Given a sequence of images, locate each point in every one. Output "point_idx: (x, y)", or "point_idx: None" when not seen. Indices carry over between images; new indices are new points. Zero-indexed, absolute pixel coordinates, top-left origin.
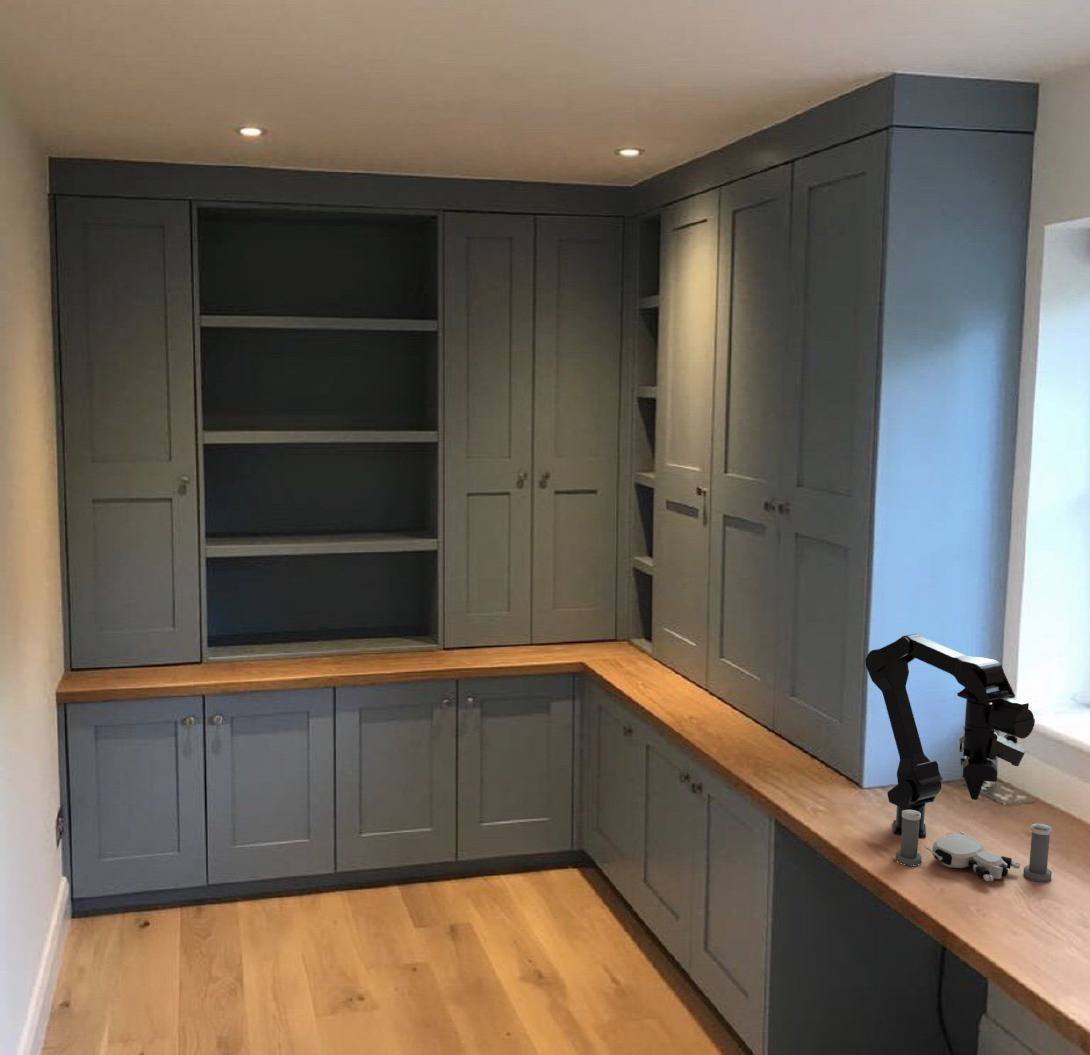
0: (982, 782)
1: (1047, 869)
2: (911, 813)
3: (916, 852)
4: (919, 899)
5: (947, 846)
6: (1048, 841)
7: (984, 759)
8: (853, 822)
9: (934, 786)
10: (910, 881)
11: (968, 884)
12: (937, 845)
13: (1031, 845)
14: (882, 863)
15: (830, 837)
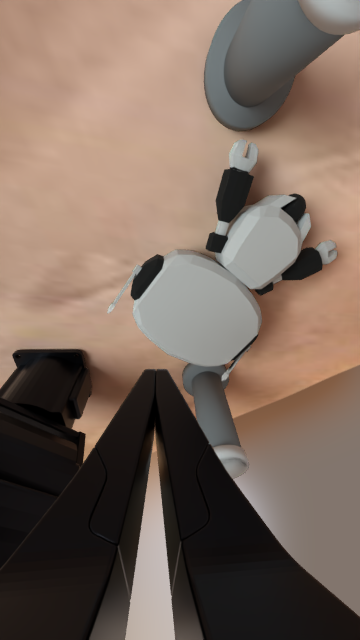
0: (237, 488)
1: (239, 12)
2: (226, 468)
3: (217, 380)
4: (349, 361)
5: (223, 345)
6: None
7: None
8: None
9: (5, 456)
10: (284, 371)
11: (297, 285)
12: (224, 363)
13: (297, 68)
14: None
15: None
